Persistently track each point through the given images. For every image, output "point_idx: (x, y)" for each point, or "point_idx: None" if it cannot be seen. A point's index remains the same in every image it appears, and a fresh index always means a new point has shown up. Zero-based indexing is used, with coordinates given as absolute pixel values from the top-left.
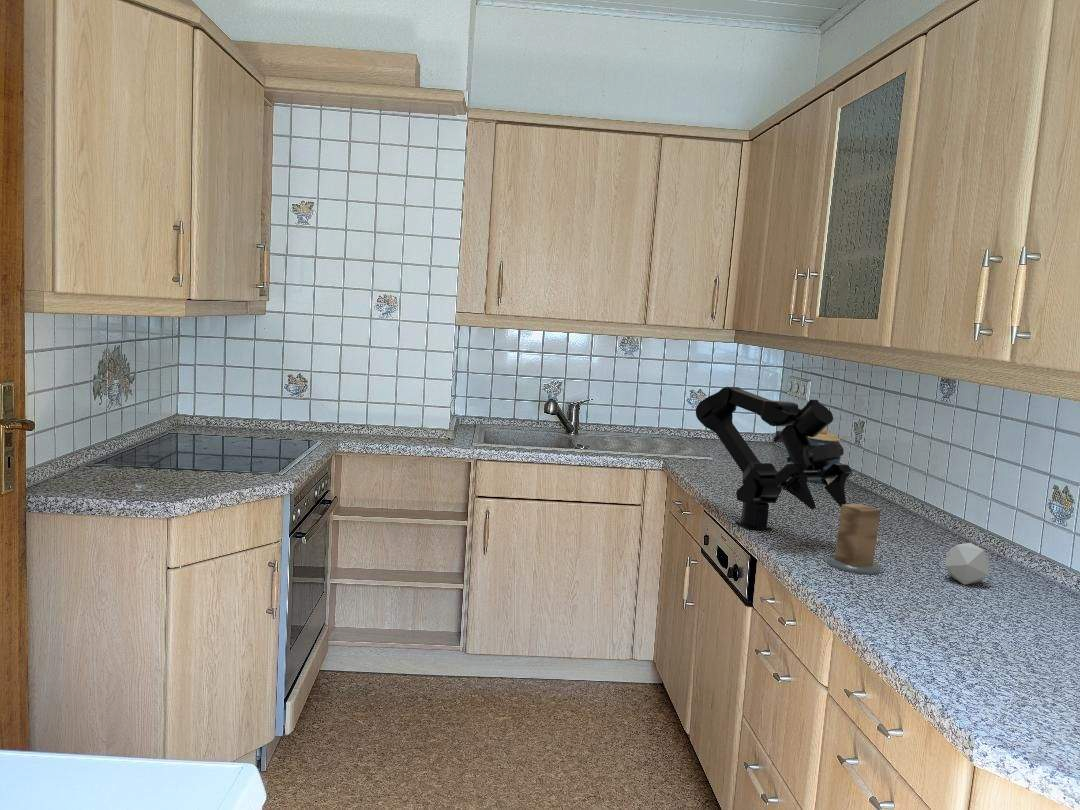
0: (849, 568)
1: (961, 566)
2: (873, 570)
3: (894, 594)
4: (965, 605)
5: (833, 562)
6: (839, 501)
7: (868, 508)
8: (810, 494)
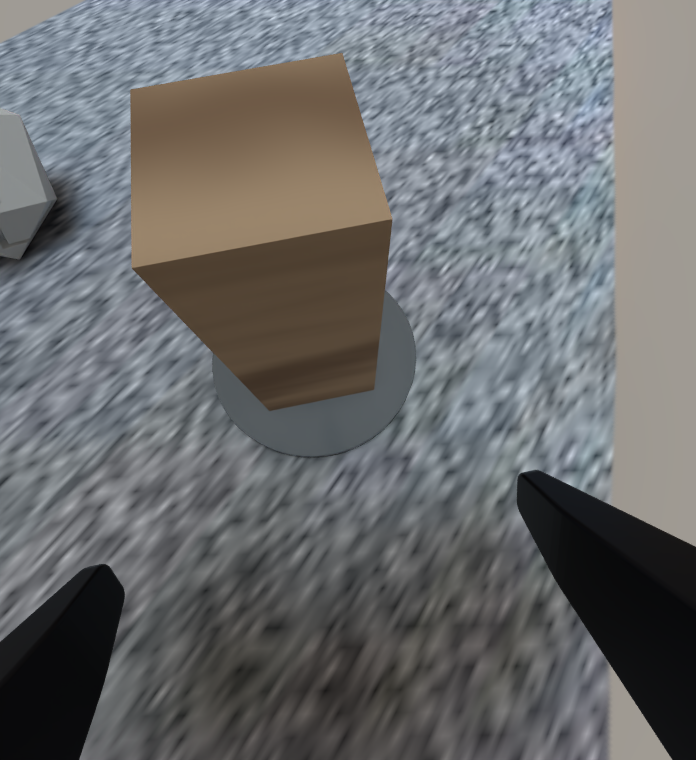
0: None
1: (30, 143)
2: None
3: None
4: None
5: (406, 350)
6: (79, 676)
7: (200, 126)
8: (665, 565)
